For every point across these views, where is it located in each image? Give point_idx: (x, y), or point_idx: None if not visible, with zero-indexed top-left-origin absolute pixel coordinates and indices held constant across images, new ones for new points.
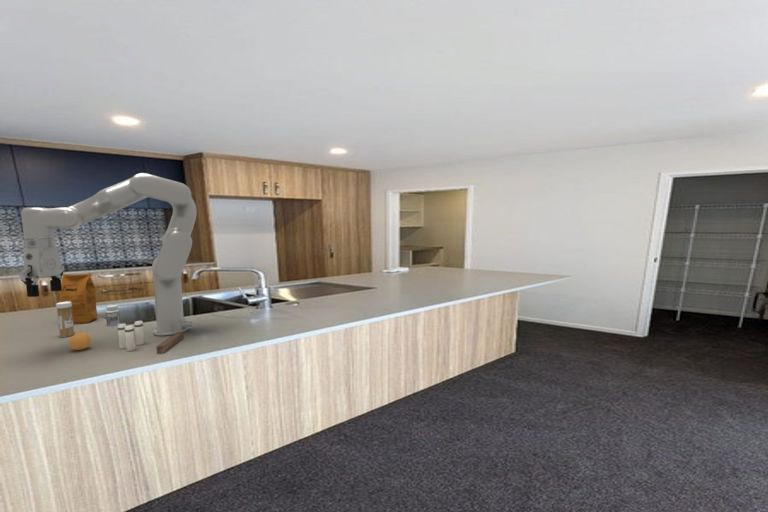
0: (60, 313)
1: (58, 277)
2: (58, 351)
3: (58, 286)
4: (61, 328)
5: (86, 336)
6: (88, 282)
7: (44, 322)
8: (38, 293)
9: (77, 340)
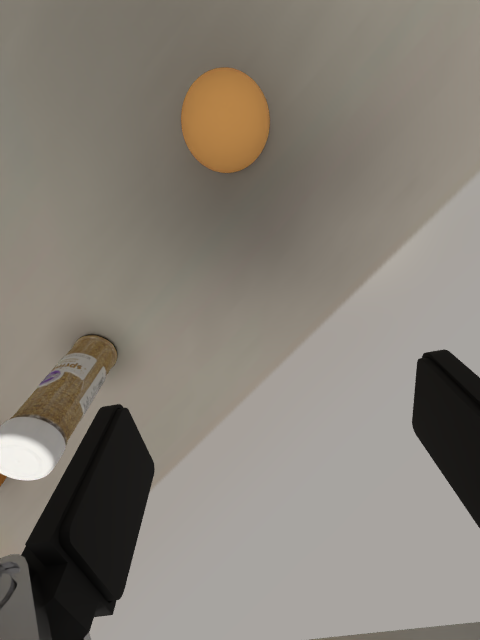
0: (73, 414)
1: (35, 607)
2: (252, 215)
3: (111, 455)
4: (104, 369)
5: (222, 73)
6: None
7: (22, 516)
8: (453, 365)
9: (261, 95)
